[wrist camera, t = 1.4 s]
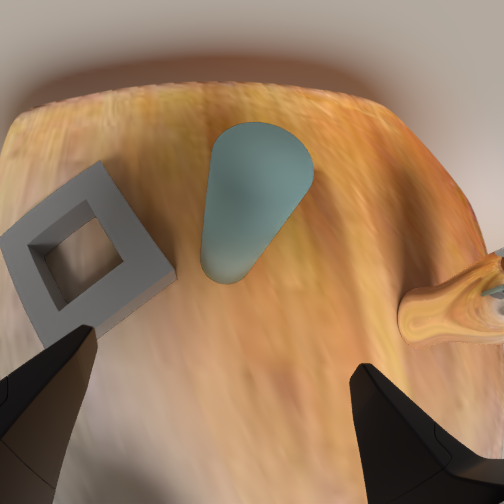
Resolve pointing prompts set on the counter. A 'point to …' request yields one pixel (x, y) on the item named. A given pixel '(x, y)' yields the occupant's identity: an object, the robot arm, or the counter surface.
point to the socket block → (104, 290)
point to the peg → (250, 196)
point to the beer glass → (457, 307)
